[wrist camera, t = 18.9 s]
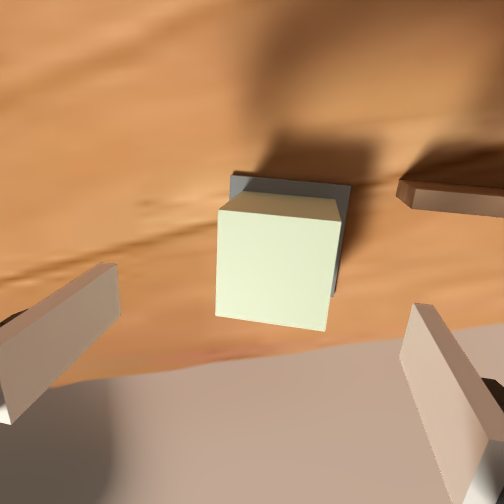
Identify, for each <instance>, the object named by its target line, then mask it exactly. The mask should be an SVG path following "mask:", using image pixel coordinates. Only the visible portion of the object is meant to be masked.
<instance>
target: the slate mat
mask: <svg viewBox="0 0 504 504" xmlns="http://www.w3.org/2000/svg"><path fill="white" fill-rule="evenodd" d="M242 191H250V192H261V193H272V194H283V195H294V196H306V197H317V198H328V199H335V200H336V204H337V208H338V211H339V215H340V218H341V228H340V235H339V241H338V248H337V255H336V261H335V268H334V275H333V281H332V288H331V295H330V297H333V296H334V290H335V284H336V278H337V271H338V265H339V259H340V253H341V247H342V240H343V234H344V228H345V222H346V216H347V209H348V203H349V197H350V191H351V185H343V184H332V183H321V182H309V181H298V180H287V179H276V178H265V177H254V176H242V175H230V198H229V201H230V200H231V199H233V198H234V197H235V196H237V195H238V194H239V193H240V192H242Z"/></svg>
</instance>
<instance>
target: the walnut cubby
mask: <svg viewBox="0 0 504 504" xmlns="http://www.w3.org/2000/svg"><path fill="white" fill-rule="evenodd" d="M396 197H397V198H399V199H400V200H401V201H402V202H404V203H405V204H406V205H407V206H409V207H410V208H411V209H419V210H429V211H439V212H450V213H460V214H470V215H481V216H491V217H501V218H504V188H492V187H480V186H469V185H457V184H445V183H433V182H422V181H410V180H399V183H398V188H397V193H396Z"/></svg>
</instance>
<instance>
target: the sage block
mask: <svg viewBox="0 0 504 504" xmlns="http://www.w3.org/2000/svg"><path fill="white" fill-rule="evenodd" d="M340 228H341V218H340V215H339V211H338V208H337V204H336V200H335V199H328V198H317V197H306V196H294V195H283V194H272V193H261V192H250V191H242V192H240V193H239V194H238V195H237V196H235V197H234V198H233V199H231V200H230V201H229V202H228V203H226V204H225V205H224V206H222V207H221V208H220V209H219V210H218V238H217V277H216V316H221V317H228V318H235V319H242V320H249V321H256V322H262V323H269V324H276V325H283V326H290V327H297V328H304V329H311V330H317V331H324V332H325V328H326V321H327V315H328V308H329V301H330V295H331V288H332V281H333V275H334V268H335V261H336V255H337V248H338V241H339V235H340Z"/></svg>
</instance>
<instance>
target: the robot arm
mask: <svg viewBox="0 0 504 504" xmlns="http://www.w3.org/2000/svg"><path fill="white" fill-rule="evenodd" d="M120 316H121V309H120V298H119V286H118V275H117V264H112V263H104V262H101V263H99V264H98V265H96V266H95V267H93V268H91V269H90V270H88V271H87V272H85V273H84V274H82V275H81V276H79V277H78V278H76V279H74V280H73V281H71V282H70V283H68V284H67V285H65V286H64V287H62V288H61V289H59V290H57V291H56V292H54V293H53V294H51V295H50V296H48V297H47V298H45V299H44V300H42V301H40V302H39V303H37V304H36V305H34V306H33V307H31V308H30V309H26V310H24V311H21V312H18V313H16V314H13V315H11V316H10V317H8V318H7V319H5V320H4V321H2V322H0V422H1V423H6V424H10V425H11V424H12V423H13V422H14V421H15V420H16V419H17V418H18V417H19V416H20V415H21V414H22V413H23V412H24V411H25V410H26V409H27V408H28V407H29V406H30V405H31V404H32V403H33V402H34V401H35V400H36V399H37V398H38V397H39V396H40V395H41V394H42V393H43V392H44V391H45V390H46V389H48V388H49V387H50V386H51V385H52V384H53V383H54V382H55V381H56V380H57V379H58V378H59V377H60V376H61V375H62V374H63V373H64V372H65V371H66V370H67V369H68V368H69V367H70V366H71V365H72V364H73V363H74V362H75V361H76V360H77V359H78V358H79V357H80V356H81V355H82V354H83V353H84V352H85V351H86V350H87V349H88V348H89V347H90V346H91V345H92V344H93V343H94V342H95V341H96V340H97V339H98V338H99V337H100V336H101V335H102V334H103V333H104V332H105V331H106V330H107V329H108V328H109V327H110V326H111V325H112V324H113V323H114V322H115V321H116V320H117V319H118V318H119V317H120ZM399 359H400V362H401V364H402V367H403V370H404V373H405V375H406V378H407V381H408V383H409V387H410V389H411V392H412V395H413V398H414V400H415V403H416V406H417V409H418V411H419V414H420V417H421V419H422V422H423V425H424V428H425V430H426V433H427V436H428V439H429V442H430V444H431V447H432V450H433V453H434V455H435V458H436V461H437V463H438V466H439V469H440V472H441V475H442V477H443V480H444V483H445V486H446V488H447V491H448V494H449V497H450V499H451V502H452V504H504V387H503V386H502V385H501V384H499V383H498V382H497V381H496V380H493V379H487V378H481V377H480V376H479V375H478V373H477V372H476V370H475V369H474V367H473V366H472V364H471V363H470V361H469V359H468V358H467V356H466V355H465V353H464V352H463V350H462V349H461V347H460V346H459V344H458V343H457V341H456V340H455V338H454V337H453V335H452V333H451V332H450V330H449V329H448V327H447V326H446V324H445V323H444V321H443V320H442V318H441V317H440V315H439V314H438V312H437V311H436V309H435V307H434V306H433V305H428V304H420V303H413V306H412V310H411V314H410V318H409V321H408V325H407V329H406V333H405V337H404V341H403V344H402V348H401V352H400V356H399Z"/></svg>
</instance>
